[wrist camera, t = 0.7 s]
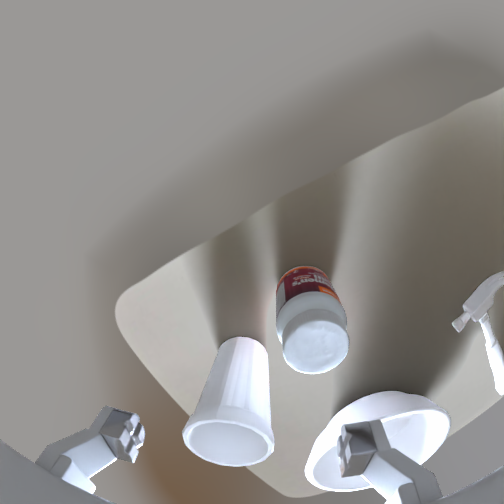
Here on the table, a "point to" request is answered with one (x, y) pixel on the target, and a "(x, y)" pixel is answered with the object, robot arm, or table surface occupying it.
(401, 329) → the table surface
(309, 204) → the table surface
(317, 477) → the bowl
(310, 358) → the pill bottle
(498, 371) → the hammer
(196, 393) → the table surface
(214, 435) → the cup
